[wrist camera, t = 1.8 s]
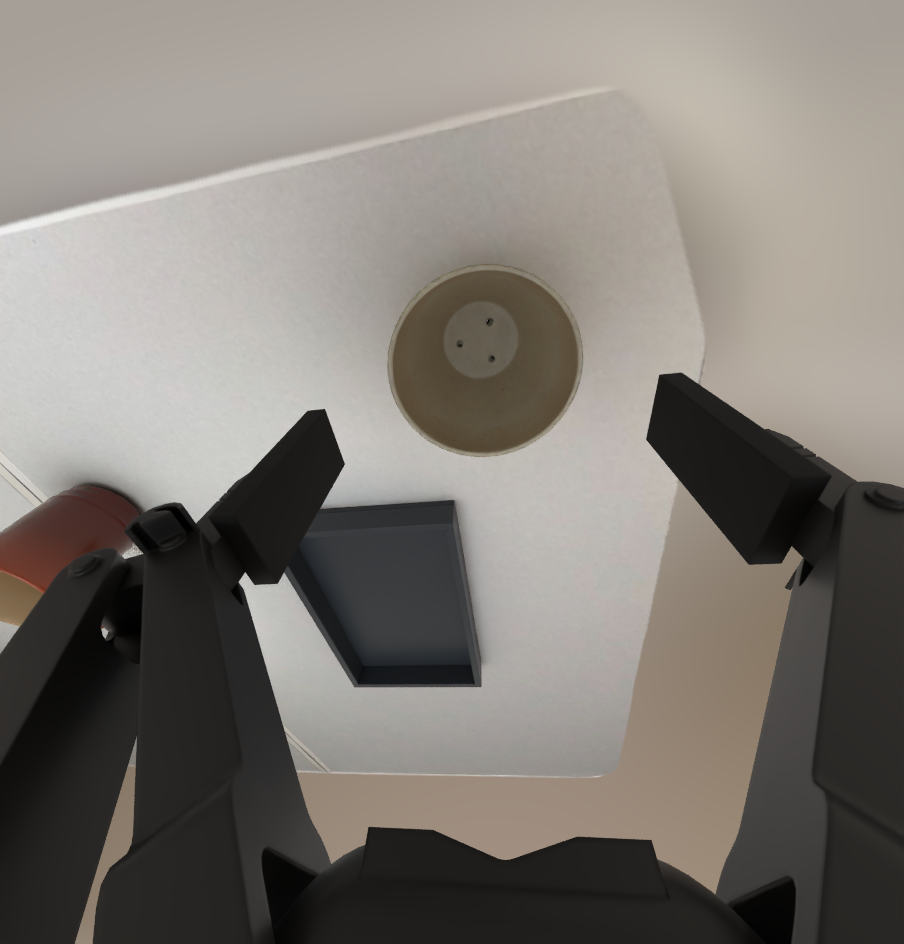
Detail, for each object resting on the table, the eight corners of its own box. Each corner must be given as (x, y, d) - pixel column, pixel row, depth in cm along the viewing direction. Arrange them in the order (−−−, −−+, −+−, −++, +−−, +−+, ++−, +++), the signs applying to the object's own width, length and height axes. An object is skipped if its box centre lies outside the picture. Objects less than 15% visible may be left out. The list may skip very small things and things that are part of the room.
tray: (276, 511, 34) (261, 534, 32) (454, 500, 32) (452, 523, 30) (360, 664, 51) (354, 687, 48) (481, 663, 49) (481, 687, 46)
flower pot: (481, 431, 28) (482, 485, 22) (380, 343, 24) (350, 379, 19) (587, 336, 23) (624, 373, 18) (482, 211, 20) (485, 204, 14)
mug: (41, 484, 34) (-102, 569, 26) (107, 464, 32) (-23, 549, 24) (138, 564, 40) (49, 653, 32) (197, 552, 38) (120, 642, 30)
